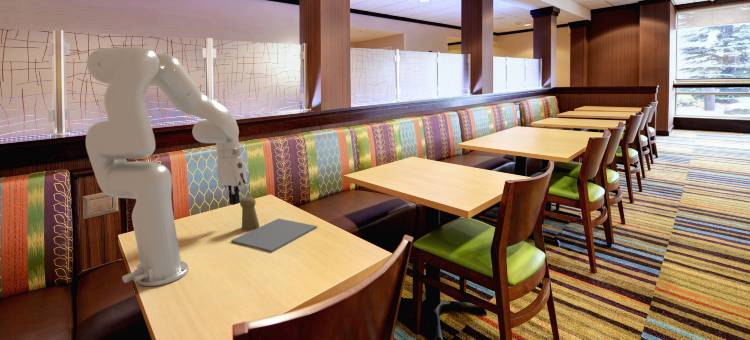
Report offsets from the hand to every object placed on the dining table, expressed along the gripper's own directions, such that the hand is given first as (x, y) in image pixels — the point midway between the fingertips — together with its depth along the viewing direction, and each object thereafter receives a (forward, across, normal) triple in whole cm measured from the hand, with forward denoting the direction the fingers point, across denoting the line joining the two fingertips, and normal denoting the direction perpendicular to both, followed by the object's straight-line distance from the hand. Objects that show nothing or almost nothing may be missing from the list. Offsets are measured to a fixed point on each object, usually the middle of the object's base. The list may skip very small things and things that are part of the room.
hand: (234, 203), depth 143 cm
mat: (+8, -20, +1) cm, 21 cm away
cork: (+8, -7, 0) cm, 11 cm away
